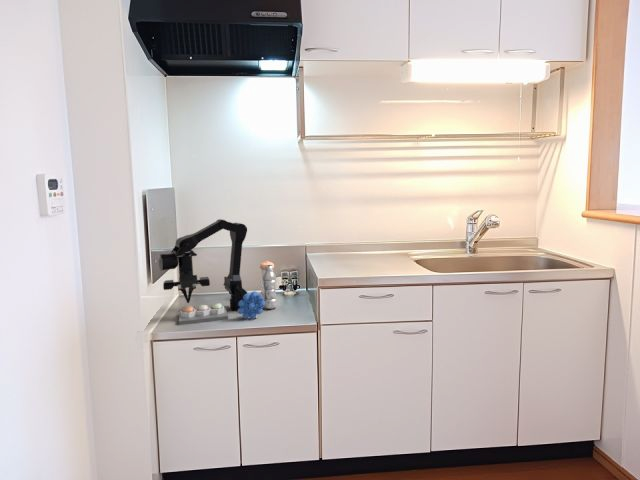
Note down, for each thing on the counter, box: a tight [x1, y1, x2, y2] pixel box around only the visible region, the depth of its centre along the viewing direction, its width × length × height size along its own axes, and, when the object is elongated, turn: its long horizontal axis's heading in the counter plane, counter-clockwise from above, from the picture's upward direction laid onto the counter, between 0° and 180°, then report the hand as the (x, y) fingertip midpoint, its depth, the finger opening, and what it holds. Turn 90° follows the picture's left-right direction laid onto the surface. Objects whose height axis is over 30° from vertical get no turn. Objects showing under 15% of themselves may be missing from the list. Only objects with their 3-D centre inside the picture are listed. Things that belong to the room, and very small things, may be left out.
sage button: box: [211, 302, 223, 310], centre depth 190 cm, size 4×4×2 cm
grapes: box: [237, 290, 265, 320], centre depth 185 cm, size 12×7×12 cm, turn 99°
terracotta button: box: [182, 305, 194, 313], centre depth 186 cm, size 4×4×2 cm
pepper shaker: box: [259, 260, 275, 300], centre depth 214 cm, size 7×7×19 cm
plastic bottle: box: [261, 265, 278, 310], centre depth 198 cm, size 6×7×20 cm
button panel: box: [178, 305, 229, 326], centre depth 189 cm, size 20×14×4 cm
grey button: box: [197, 304, 209, 311], centre depth 188 cm, size 4×4×2 cm
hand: (188, 302), depth 186 cm, fingers closed
